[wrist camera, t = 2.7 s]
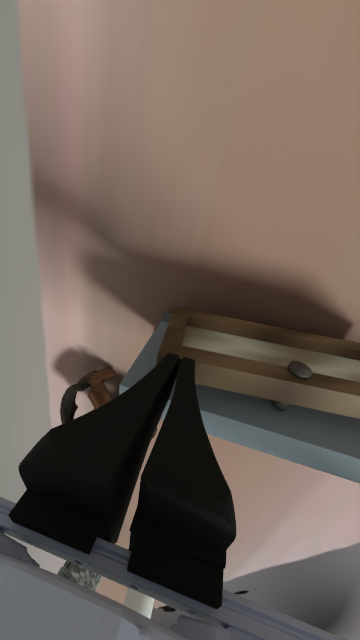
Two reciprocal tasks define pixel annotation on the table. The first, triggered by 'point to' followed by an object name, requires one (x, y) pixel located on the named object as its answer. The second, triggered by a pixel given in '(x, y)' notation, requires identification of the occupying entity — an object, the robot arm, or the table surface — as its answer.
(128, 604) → the bottle
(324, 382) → the brown rectangular panel
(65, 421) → the pottery mug
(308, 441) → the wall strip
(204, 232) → the table surface
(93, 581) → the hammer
